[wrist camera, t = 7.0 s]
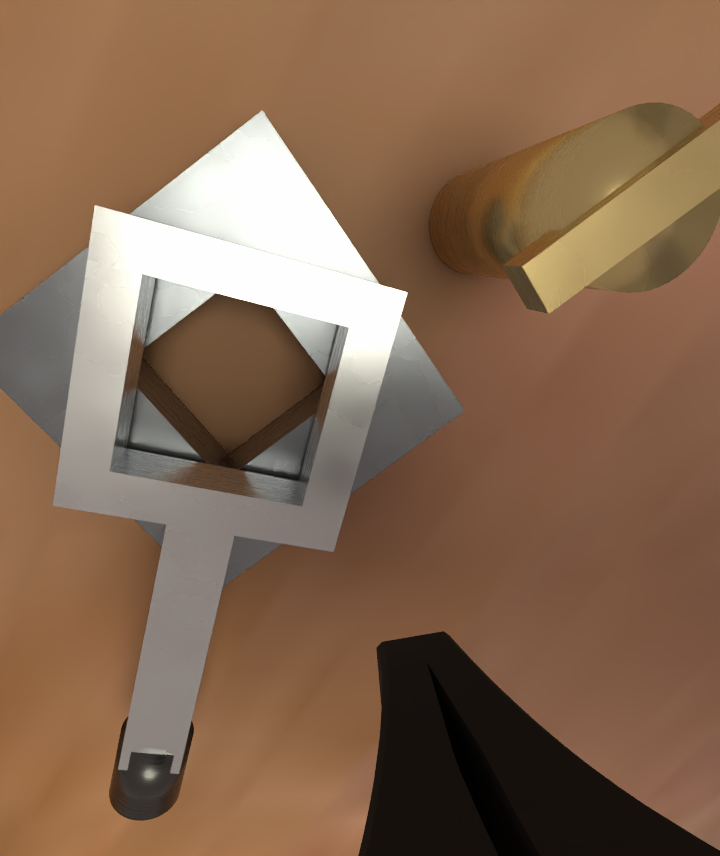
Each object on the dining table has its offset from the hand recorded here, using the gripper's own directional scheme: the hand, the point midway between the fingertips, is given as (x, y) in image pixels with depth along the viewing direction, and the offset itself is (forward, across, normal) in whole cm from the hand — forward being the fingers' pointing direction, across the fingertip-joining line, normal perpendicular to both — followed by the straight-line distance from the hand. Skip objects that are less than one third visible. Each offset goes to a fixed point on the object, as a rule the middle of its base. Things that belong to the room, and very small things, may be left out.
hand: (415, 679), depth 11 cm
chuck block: (+10, +3, -4) cm, 11 cm away
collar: (+8, +5, 0) cm, 9 cm away
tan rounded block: (+10, -5, -8) cm, 14 cm away
